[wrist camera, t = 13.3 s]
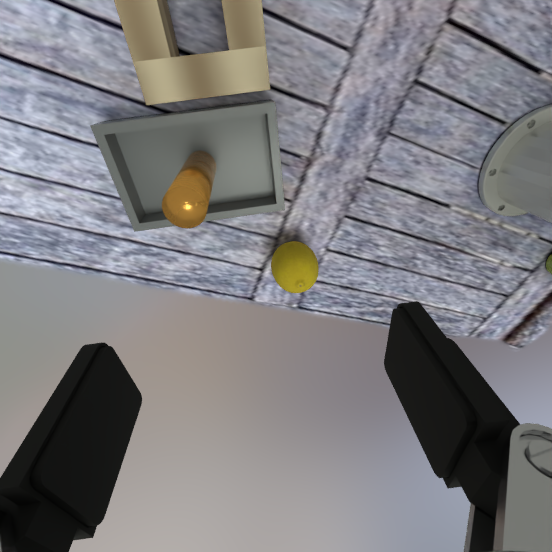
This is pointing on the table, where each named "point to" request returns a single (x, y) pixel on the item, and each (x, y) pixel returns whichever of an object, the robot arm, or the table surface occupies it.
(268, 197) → the tray
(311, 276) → the lemon
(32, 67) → the table surface
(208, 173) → the pin
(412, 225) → the table surface
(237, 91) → the pin block
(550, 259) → the plant pot
